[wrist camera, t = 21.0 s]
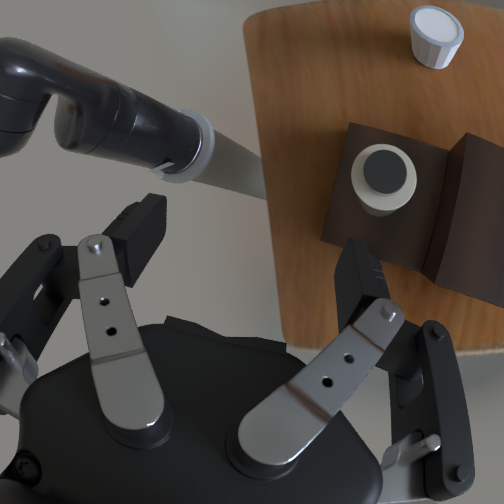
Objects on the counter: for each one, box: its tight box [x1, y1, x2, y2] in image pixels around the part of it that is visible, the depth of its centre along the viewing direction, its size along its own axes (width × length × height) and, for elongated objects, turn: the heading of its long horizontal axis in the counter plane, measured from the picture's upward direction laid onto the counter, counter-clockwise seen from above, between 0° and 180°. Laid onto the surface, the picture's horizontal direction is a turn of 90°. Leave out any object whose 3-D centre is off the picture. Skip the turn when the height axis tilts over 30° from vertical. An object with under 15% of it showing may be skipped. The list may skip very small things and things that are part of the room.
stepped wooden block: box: [320, 123, 504, 308], centre depth 26 cm, size 22×14×10 cm, turn 74°
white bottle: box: [351, 144, 417, 217], centre depth 24 cm, size 5×5×12 cm
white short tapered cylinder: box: [410, 5, 464, 69], centre depth 24 cm, size 7×7×7 cm
